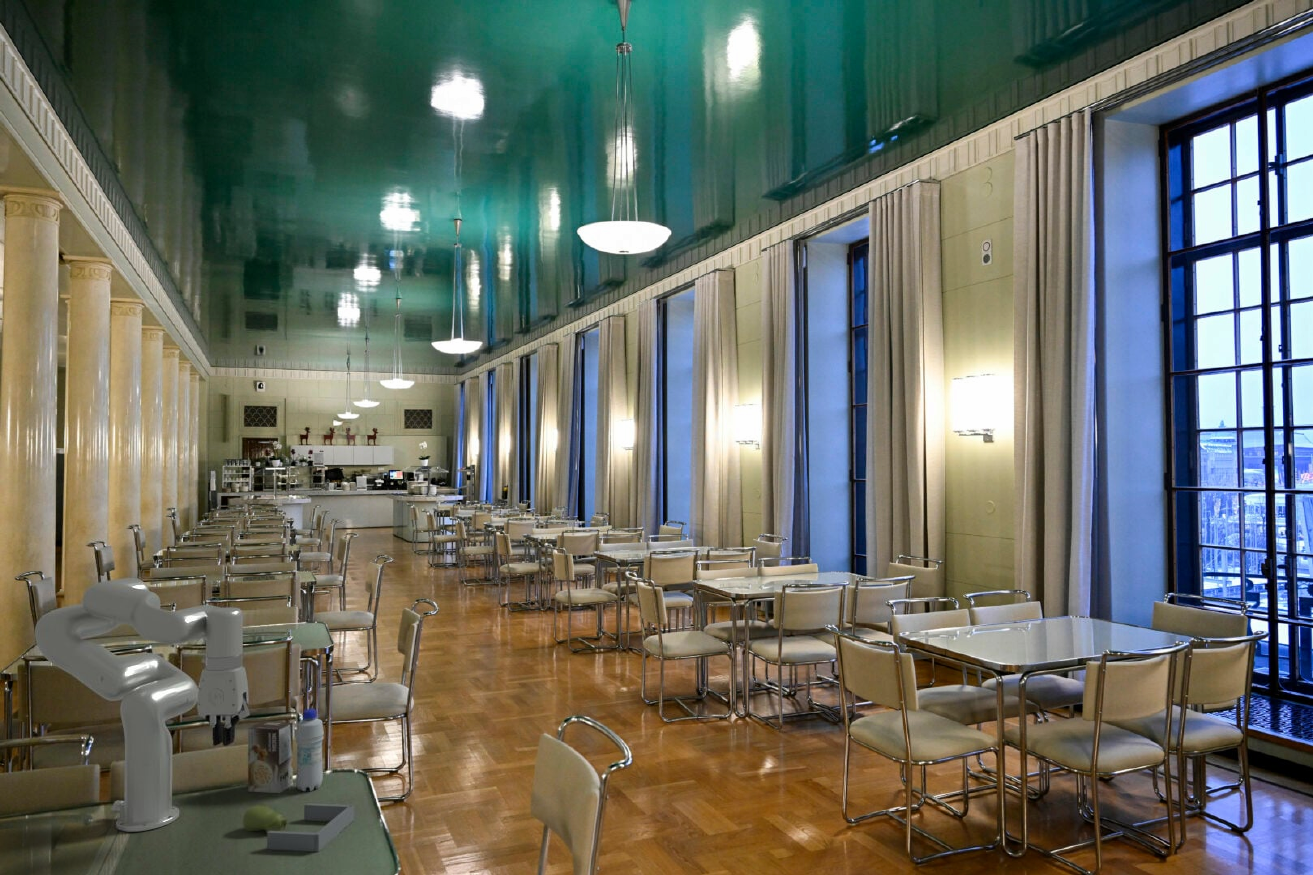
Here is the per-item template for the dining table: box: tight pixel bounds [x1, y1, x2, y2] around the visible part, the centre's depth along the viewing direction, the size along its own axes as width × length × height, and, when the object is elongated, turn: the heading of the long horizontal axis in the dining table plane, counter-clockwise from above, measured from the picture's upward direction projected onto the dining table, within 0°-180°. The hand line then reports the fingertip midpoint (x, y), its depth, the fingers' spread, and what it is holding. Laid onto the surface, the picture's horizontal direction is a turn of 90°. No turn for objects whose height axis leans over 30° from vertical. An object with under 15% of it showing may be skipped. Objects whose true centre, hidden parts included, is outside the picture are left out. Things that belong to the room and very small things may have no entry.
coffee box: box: [247, 720, 294, 794], centre depth 217 cm, size 9×6×16 cm
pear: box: [242, 805, 288, 833], centre depth 192 cm, size 6×5×10 cm
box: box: [266, 802, 355, 853], centre depth 189 cm, size 12×16×4 cm
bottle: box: [295, 708, 325, 792], centre depth 217 cm, size 7×7×20 cm
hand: (223, 743), depth 193 cm, fingers closed
